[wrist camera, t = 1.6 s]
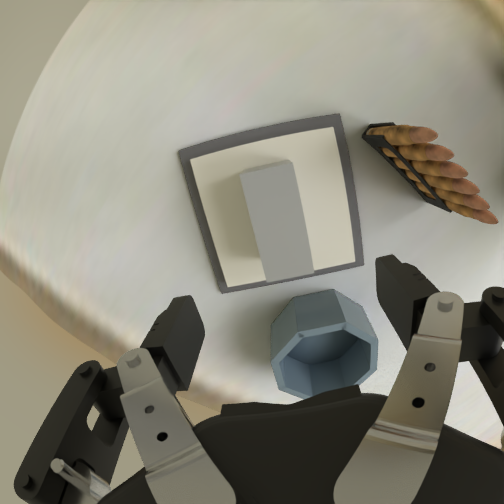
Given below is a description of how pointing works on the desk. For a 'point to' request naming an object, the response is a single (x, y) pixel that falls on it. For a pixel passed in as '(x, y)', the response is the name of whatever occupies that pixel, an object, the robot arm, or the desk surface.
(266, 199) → the lid
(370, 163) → the desk surface
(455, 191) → the ammunition clip
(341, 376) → the bowl
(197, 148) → the mat
